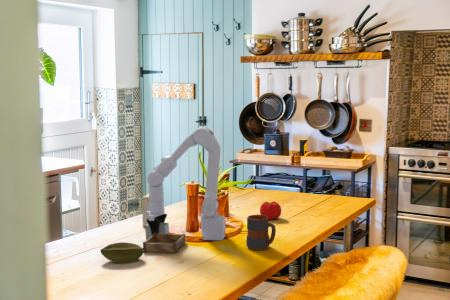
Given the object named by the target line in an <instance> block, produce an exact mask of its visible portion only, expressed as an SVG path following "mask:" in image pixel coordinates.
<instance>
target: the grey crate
mask: <svg viewBox="0 0 450 300" xmlns="http://www.w3.org/2000/svg"><path fill="white" fill-rule="evenodd" d="M169 225H170V223H169V222H164V223H160V225H159V233H158V234H170V230H169V229H170V226H169ZM151 236H152V233H151V229H150V226H149V224H147V225H146V227H145V240H147V239H148V238H149V237H151Z"/></svg>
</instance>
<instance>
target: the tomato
mask: <svg viewBox="0 0 450 300" xmlns="http://www.w3.org/2000/svg"><path fill="white" fill-rule="evenodd" d="M281 214H282V207H281V205H280V203H278V202H277V201H275V200H274V201H270V202H269V201H264V202H263V203H262V204H260V208H259V215H265V216H267V217H268V221H271V220H272V221H273V220H274V219H279V218H280V217H281Z"/></svg>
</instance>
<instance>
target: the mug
mask: <svg viewBox="0 0 450 300" xmlns="http://www.w3.org/2000/svg"><path fill="white" fill-rule="evenodd" d="M246 220H247V221H246V229H247V230H246V231H247V235H246V247H247V249H249V250H250V251H251V250H252V251H266V250H268V249H269V247H270V245H271V244H273V242H274V240H275V239H276V238H275V236H276V232H277V230H276V226H275V224H274V223H272V222H269V220H268V217H267V216H265V215H261V214H252V215H251V214H250V215H248V216H247V218H246ZM269 228H271V232H270V233H271V234H269Z"/></svg>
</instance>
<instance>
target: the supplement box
mask: <svg viewBox="0 0 450 300" xmlns="http://www.w3.org/2000/svg"><path fill="white" fill-rule="evenodd" d="M141 202H142V203H141V204H142V206H141V208H142V228H143V227H144V228H146V225H147V224H148V223H147V219H148V218H149V214H147V211H150V209H149V193H147V194H146V195H144V196H141Z"/></svg>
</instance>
